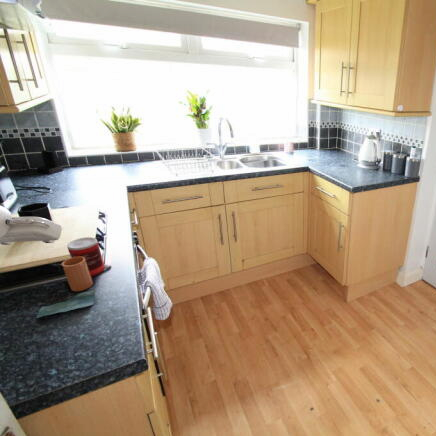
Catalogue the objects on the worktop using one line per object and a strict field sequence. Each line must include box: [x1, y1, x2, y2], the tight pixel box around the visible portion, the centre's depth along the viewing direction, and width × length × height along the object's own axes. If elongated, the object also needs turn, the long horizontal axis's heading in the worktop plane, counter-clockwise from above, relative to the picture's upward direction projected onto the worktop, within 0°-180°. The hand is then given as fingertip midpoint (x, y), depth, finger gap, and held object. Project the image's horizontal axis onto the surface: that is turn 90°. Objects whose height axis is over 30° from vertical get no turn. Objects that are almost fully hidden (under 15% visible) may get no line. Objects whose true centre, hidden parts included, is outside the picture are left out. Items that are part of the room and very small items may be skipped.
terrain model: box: [35, 289, 97, 319], centre depth 89 cm, size 13×8×2 cm, turn 122°
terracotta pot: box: [61, 256, 94, 292], centre depth 97 cm, size 6×6×9 cm
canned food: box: [66, 236, 106, 278], centre depth 104 cm, size 8×8×11 cm
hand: (29, 240), depth 79 cm, fingers open, 8 cm apart
